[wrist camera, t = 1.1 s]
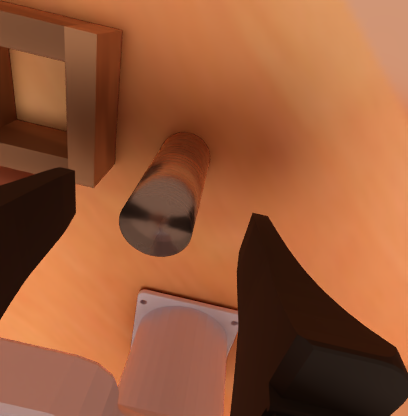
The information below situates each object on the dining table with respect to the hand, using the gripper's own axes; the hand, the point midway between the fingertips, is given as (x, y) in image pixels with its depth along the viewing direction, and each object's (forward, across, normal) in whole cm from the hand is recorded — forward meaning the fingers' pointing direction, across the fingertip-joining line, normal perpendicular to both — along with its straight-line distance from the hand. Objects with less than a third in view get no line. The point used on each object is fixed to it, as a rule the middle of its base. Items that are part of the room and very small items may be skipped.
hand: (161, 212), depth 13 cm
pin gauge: (+6, 0, 0) cm, 6 cm away
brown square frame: (+6, +8, -2) cm, 10 cm away
